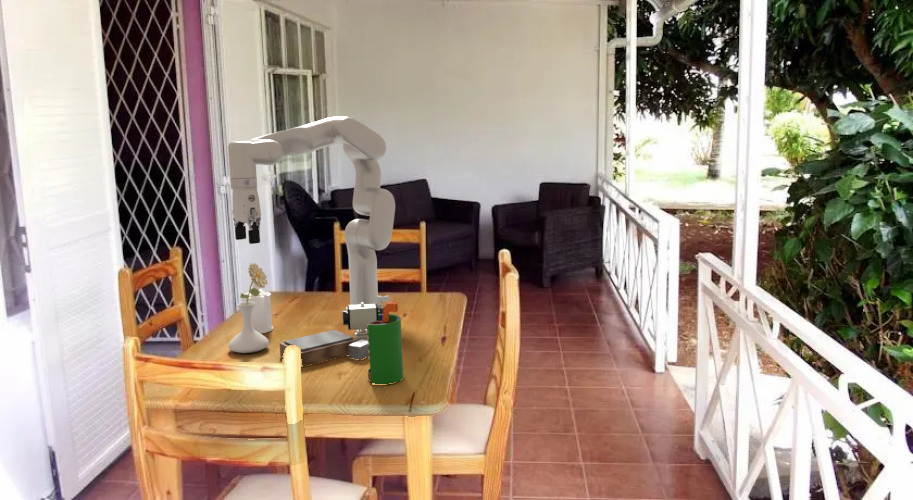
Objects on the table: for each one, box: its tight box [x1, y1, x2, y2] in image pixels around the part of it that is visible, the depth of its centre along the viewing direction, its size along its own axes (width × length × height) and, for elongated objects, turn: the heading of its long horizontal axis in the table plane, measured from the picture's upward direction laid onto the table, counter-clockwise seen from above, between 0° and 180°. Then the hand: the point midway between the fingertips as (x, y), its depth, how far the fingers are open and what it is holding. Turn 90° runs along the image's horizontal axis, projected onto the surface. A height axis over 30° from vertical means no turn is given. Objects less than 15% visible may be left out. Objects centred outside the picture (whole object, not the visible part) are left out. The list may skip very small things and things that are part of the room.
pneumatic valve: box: [341, 303, 384, 341], centre depth 216 cm, size 6×12×12 cm, turn 101°
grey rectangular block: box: [348, 339, 369, 361], centre depth 203 cm, size 6×4×4 cm, turn 150°
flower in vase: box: [227, 262, 270, 354], centre depth 209 cm, size 13×11×25 cm
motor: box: [367, 301, 404, 384], centre depth 185 cm, size 10×9×20 cm
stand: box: [279, 329, 358, 368], centre depth 205 cm, size 18×12×5 cm, turn 130°
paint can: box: [240, 282, 274, 335], centre depth 228 cm, size 10×9×20 cm
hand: (247, 241), depth 218 cm, fingers open, 9 cm apart
